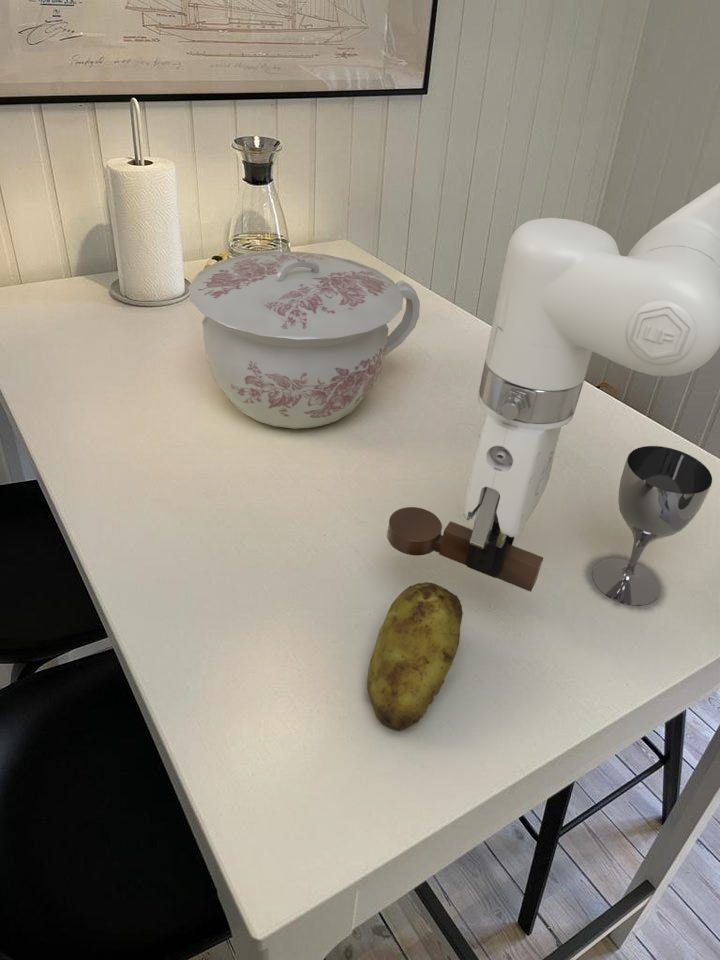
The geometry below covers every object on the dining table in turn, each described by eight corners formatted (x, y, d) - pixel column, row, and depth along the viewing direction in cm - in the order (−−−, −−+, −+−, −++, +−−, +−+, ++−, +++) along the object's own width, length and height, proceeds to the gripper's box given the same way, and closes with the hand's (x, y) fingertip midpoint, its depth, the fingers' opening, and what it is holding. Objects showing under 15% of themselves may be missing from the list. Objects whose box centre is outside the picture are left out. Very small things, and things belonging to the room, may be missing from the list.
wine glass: (663, 617, 77) (714, 502, 68) (585, 595, 79) (625, 481, 70) (663, 568, 83) (710, 457, 74) (591, 548, 85) (628, 438, 76)
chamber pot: (158, 428, 98) (142, 276, 86) (245, 342, 120) (242, 211, 107) (362, 478, 93) (377, 323, 80) (415, 379, 114) (433, 244, 102)
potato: (327, 699, 66) (331, 637, 61) (409, 617, 75) (419, 557, 70) (404, 753, 62) (415, 692, 58) (481, 660, 71) (497, 600, 66)
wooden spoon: (541, 570, 70) (549, 546, 68) (525, 604, 66) (532, 579, 64) (400, 514, 74) (404, 490, 72) (378, 542, 71) (381, 518, 69)
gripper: (547, 451, 51) (496, 635, 62) (600, 362, 62) (549, 530, 73) (445, 417, 53) (414, 600, 64) (515, 338, 65) (478, 504, 76)
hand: (486, 562), depth 69 cm, fingers closed on wooden spoon
